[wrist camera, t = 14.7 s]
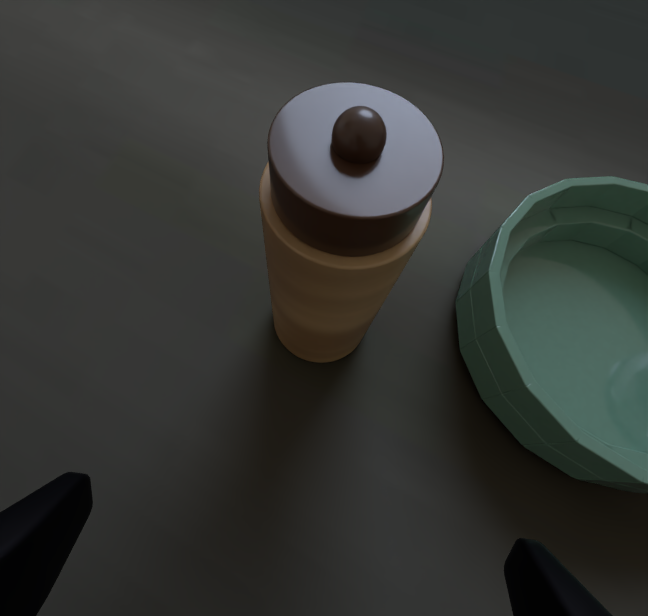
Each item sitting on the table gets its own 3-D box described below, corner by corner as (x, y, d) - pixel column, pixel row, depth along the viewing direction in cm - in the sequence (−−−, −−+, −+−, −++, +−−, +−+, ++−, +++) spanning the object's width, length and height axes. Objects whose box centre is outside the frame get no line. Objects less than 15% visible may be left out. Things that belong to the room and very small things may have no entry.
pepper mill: (382, 341, 19) (517, 166, 8) (295, 378, 17) (305, 238, 6) (341, 264, 20) (406, 22, 9) (259, 294, 19) (217, 63, 8)
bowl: (776, 464, 18) (902, 465, 14) (497, 511, 16) (559, 527, 12) (646, 217, 23) (715, 170, 19) (423, 232, 21) (451, 183, 17)
